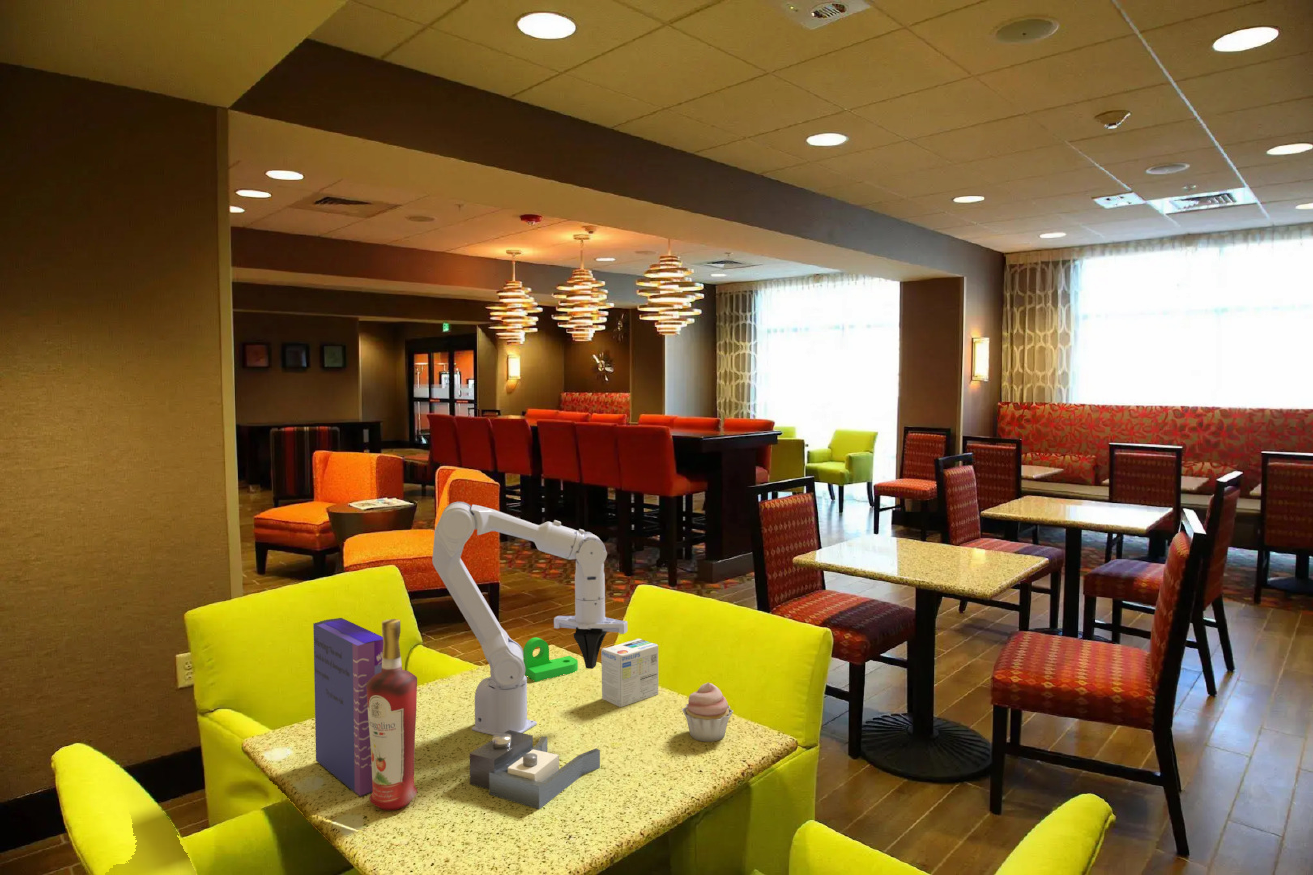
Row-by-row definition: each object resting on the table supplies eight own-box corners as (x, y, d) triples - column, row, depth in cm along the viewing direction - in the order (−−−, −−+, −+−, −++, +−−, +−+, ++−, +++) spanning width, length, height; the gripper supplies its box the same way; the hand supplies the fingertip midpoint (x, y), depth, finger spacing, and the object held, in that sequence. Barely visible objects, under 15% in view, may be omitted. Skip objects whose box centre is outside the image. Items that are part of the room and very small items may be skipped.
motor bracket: (464, 787, 120) (464, 749, 120) (525, 748, 134) (525, 713, 134) (545, 811, 113) (545, 770, 113) (601, 767, 127) (600, 730, 127)
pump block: (507, 796, 118) (507, 760, 118) (533, 776, 124) (532, 742, 124) (535, 802, 116) (534, 766, 116) (559, 782, 122) (558, 747, 122)
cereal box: (389, 786, 121) (387, 637, 120) (360, 797, 117) (357, 644, 117) (343, 751, 133) (341, 616, 132) (315, 760, 130) (313, 622, 129)
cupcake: (696, 751, 133) (696, 694, 133) (673, 730, 142) (673, 677, 141) (742, 741, 137) (742, 686, 137) (717, 722, 146) (717, 670, 145)
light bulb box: (638, 686, 164) (638, 637, 164) (659, 695, 159) (659, 644, 159) (600, 699, 157) (599, 647, 157) (620, 708, 152) (620, 655, 152)
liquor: (357, 811, 113) (354, 626, 112) (387, 788, 120) (384, 613, 119) (400, 818, 111) (397, 630, 110) (428, 794, 118) (426, 616, 117)
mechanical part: (535, 682, 168) (535, 646, 167) (523, 674, 172) (523, 639, 172) (582, 671, 175) (582, 636, 174) (569, 664, 179) (569, 630, 179)
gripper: (546, 599, 144) (547, 670, 144) (618, 604, 140) (619, 677, 140) (562, 591, 151) (563, 658, 151) (630, 595, 146) (631, 665, 147)
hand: (591, 667), depth 146 cm, fingers closed
